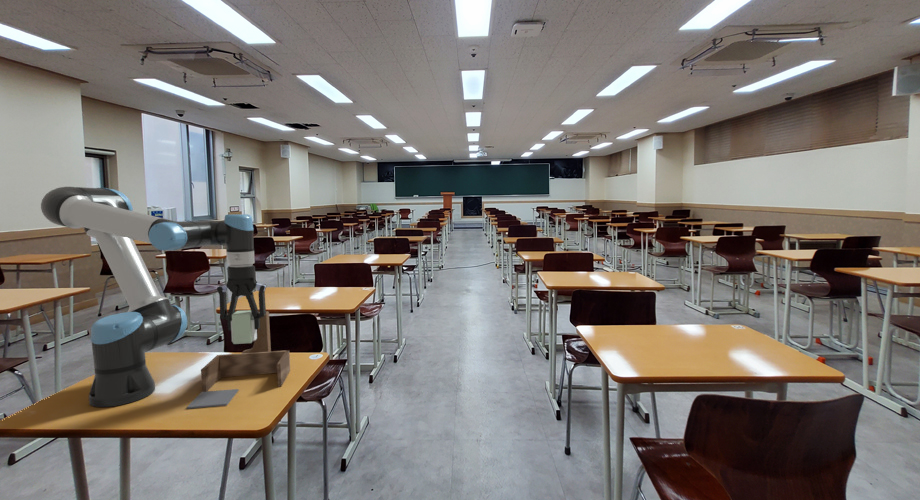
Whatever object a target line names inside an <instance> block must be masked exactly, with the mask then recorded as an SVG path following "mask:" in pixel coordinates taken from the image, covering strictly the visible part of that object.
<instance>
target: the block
mask: <svg viewBox="0 0 920 500" xmlns="http://www.w3.org/2000/svg"><path fill="white" fill-rule="evenodd" d="M252 319H253V315H252V312H251V309H249V310H235V313H234V314H232V329H233V342H232V344H233V345H239V344H240V345H241V344H252V343H254V341H252V329H251V320H252Z"/></svg>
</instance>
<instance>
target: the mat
mask: <svg viewBox="0 0 920 500" xmlns="http://www.w3.org/2000/svg"><path fill="white" fill-rule="evenodd" d="M238 392H239V388H235V389H234V388H233V389H222V390H210V391H209V390H208V391H206V392H202V391H201V392H200V393H199V394H198V395H197V396H196V397H195V398H194V399H193V400H192V401H191V402H190V403H189V405H187V406H186V410H189V409H201V408H202V409H203V408H213V407H214V408H215V407H224V406H225V407H226V406H228V405H229V403H230V402H231V401H232V400H233V398H234V397H235V396H236V394H237V393H238Z"/></svg>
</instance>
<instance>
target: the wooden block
mask: <svg viewBox="0 0 920 500" xmlns="http://www.w3.org/2000/svg"><path fill="white" fill-rule="evenodd" d="M259 313H260V312H259ZM271 345H272V343H271V330H270V312H269V311H267V310H266V315H265V316H264V317H261V318H260V328H259V329H257V339H256V340H255V341H253V346H252V347H251V348H249V349H244V350H243V351H242V352H241V353H256V352H271V351H272V348H271V347H272V346H271Z"/></svg>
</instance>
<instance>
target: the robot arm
mask: <svg viewBox="0 0 920 500" xmlns="http://www.w3.org/2000/svg"><path fill="white" fill-rule="evenodd" d="M40 209H41V213H42V215H43V216H44V218H45V219H46V220H48V221H49V222H50V223H52V224H55V225H56V226H61V227H65V228H70V229H81V228H83V229H84V233H86V235H87V236H88V237H91V238H94V239H95V240H96V242H97V244H98V246H99V248H100V250H101V252H102V254H103V257H104V258H105V260H106V262H107V264H108V266H109V268H110V270H111V274H112V275H113V277H114V279H115V281H116V283H117V285H118V286H119V289H120V291H121V293H122V295H123V297H124V298H125V301H126V303H127V304H128V306H129V307H128V310H127V311H126V312H120V313H117V314H116V313H115V314H110V315H107V316H105V317H102V318H99V319H98V320H97V321H95V322H93V324H92V326H91V328H90V331H91V332H90V333H91V335H90V342H91V349H92V357H93V367H94V369H93V370H94V378H93V381H92V383H91V384H92V385H91V387H90V390H89V394H88V404H89V406H91V407H94V408H95V407H96V408H107V407H108V408H110V407H117V406H122V405H125V404H126V405H127V404H130V403H134V402H137V401H139V400H143V399H144V398H146V397H148V396H150V395H151V394H153V393H154V392H155V390H156V382H155V379H154V377H153V376H152V374H151V372H150V370H149V369H148V367H147V364H146V363H147V362H146V353H147V352H150V351H152V350H155V349H157V348H160V347H162V346H163V347H164V346H167V345H169V344H172V343H173V342H175V341H177V340H179V339H180V338H181V337H182V336H183V335H184V334H185V332H186V329H187V327H188V317H187V314H186V312H185V311H184V308H183V309H182V308H181V307H179V306H178V305H174V304H172V303H171V301H170V299H169V298H168V297H167V296H162V295H161V293H160V291H159V289H158V287H157V286H156V284H155V281H154V279H153V277H152V275H151V273H150V271H149V270H148V267H147V265H146V263H145V261H144V259H143V257H142V255H141V253H140V251H139V249H138V247H137V244H136V243H135V241H134V240H136V241H139V242H143V243H147V244H150V245H152V246H153V247H154V248H155V249H156V250H159V251H177V250H185V249H191V248H198V247H199V248H200V247H208V246H209V247H210V246H224V247H225V250H226V264H227V268H226V271H227V281H226V284H224V285H219V286H217V288H216V290H217V292H218V294H219V295H218V296H219V297H218V298H219V314H220V315H219V318H220V319H221V320H226V321H227V330H228V331H230V332H231V335H230V336H231V342H232V343H233V329H232V314H234V313H235V312H236V310H237V309H236V308H237V304H238V300H239V297H240V296H243V297H245V298H246V300H247V303H248V306H249V308H250V309H249V310H251V312H252V315H253V319H252V320H251V329H252V341H253V342H254V341H255V340H256V339H257V329H259V328H260V318H261V317H264V316H265V315H266V311H267V310H266V293H265V291H266V289H267V285H266V284H262V283H258V282H257V279H256V266H255V265H253V264H255V263H256V261H255V259H256V258H255V248H254V247H255V246H254V230H255V228H254V224H253V223H254V222H253V216H251V214H247V213H246V214H245V213H243V214H240V213H239V214H238V213H237V214H235V213H234V214H232V213H231V214H225V216H224V220H206V219H205V220H204V219H201V220H190V221H176V220H175V221H174V220H171V219H166V218H163V217H159V216H155V215H150V214H146V213H141V212H137V211H133V204H132V202H131V200H130V199H129V198H128V197H127V196H126V195H125V193H123V192H122V191H120V190H117V189H113V188H107V187H82V186H79V187H78V186H62V187H61V186H60V187H57V188H54V189H52V190H50V191H48V192H47V193H46V194H45V195H44V196H43V198H42V199H41V203H40ZM255 288H256V289H257V292H258V305H257V303H256V300H255V296H254V290H255ZM228 290H229V291H230V293H231V297H230V303H229V307H228V299H227V292H228ZM258 308H259V309H258ZM259 312H260V313H259Z"/></svg>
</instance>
